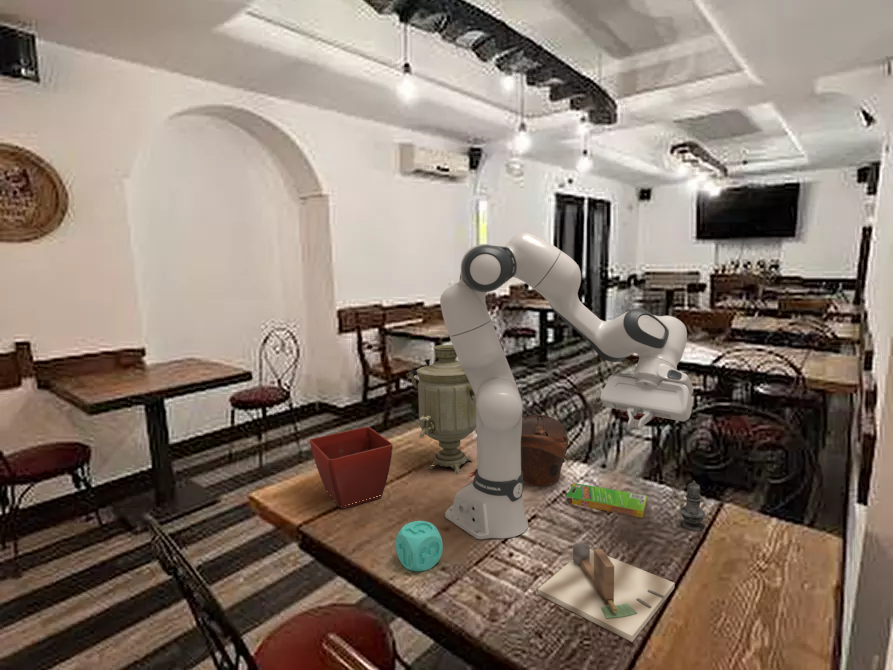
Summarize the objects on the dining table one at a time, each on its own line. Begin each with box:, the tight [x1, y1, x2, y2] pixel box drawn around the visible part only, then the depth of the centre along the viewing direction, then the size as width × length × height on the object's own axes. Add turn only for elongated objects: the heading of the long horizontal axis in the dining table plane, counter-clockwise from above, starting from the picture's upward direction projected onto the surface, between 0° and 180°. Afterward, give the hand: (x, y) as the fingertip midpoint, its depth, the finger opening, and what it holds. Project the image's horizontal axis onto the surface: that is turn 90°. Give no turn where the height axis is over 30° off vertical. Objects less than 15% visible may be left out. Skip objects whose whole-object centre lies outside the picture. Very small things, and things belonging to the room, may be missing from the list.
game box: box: [565, 483, 648, 518], centre depth 144 cm, size 3×10×20 cm
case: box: [521, 414, 569, 487], centre depth 160 cm, size 18×20×18 cm
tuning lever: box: [572, 542, 617, 612], centre depth 106 cm, size 19×4×8 cm, turn 6°
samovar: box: [406, 344, 477, 475], centre depth 169 cm, size 30×26×40 cm
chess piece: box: [679, 480, 707, 531], centre depth 130 cm, size 6×6×12 cm
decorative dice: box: [394, 520, 444, 572], centre depth 119 cm, size 8×8×8 cm
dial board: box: [537, 548, 676, 643], centre depth 107 cm, size 20×20×1 cm
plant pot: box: [309, 426, 394, 510], centre depth 152 cm, size 19×19×17 cm
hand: (634, 428), depth 117 cm, fingers closed
